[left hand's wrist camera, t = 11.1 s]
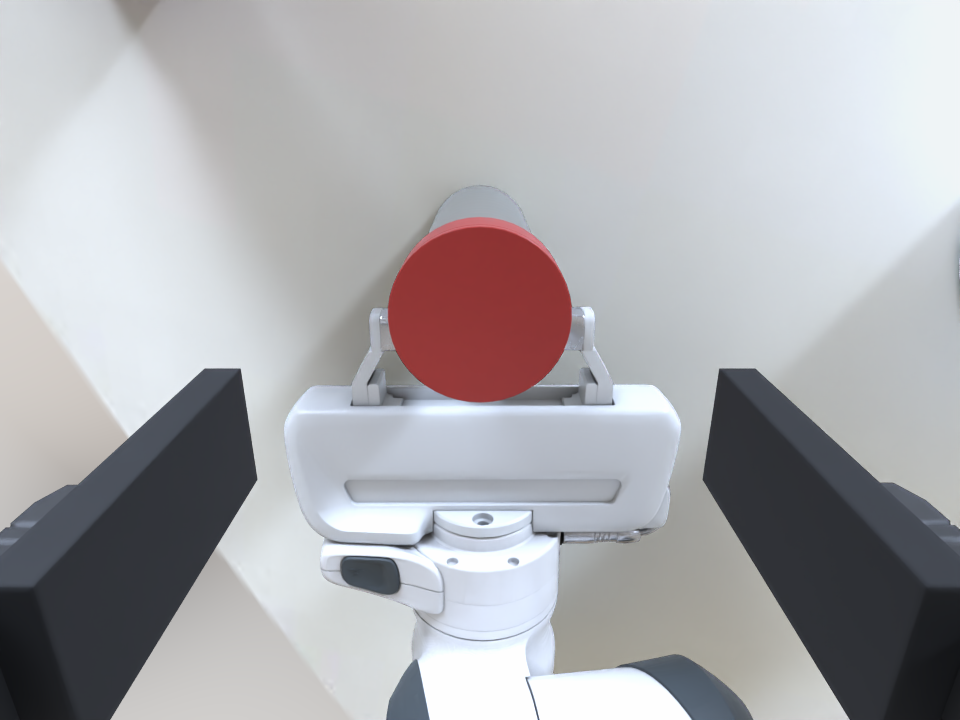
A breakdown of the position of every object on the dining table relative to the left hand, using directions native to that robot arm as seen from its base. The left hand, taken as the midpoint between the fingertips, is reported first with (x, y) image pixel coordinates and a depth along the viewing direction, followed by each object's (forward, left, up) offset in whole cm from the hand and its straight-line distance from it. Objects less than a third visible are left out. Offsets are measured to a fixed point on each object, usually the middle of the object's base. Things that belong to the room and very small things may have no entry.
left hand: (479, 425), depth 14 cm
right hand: (+2, -2, -17) cm, 18 cm away
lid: (0, 0, -8) cm, 8 cm away
